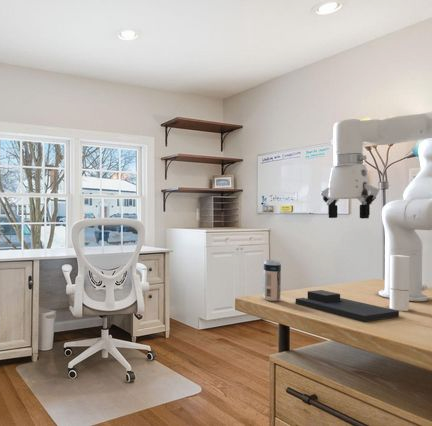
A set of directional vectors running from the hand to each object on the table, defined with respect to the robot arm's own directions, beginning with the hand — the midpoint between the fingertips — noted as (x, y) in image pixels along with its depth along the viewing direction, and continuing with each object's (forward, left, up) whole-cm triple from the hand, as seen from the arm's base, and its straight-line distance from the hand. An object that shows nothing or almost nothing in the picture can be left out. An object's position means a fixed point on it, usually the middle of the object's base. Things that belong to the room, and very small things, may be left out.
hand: (348, 218), depth 114 cm
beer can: (+20, -10, -26) cm, 34 cm away
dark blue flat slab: (+10, +6, -25) cm, 28 cm away
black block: (+10, 0, -25) cm, 27 cm away
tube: (-6, +11, -26) cm, 29 cm away
